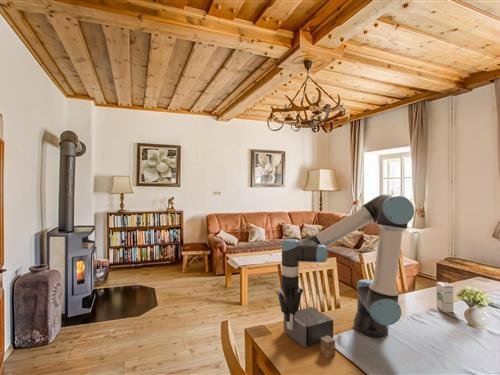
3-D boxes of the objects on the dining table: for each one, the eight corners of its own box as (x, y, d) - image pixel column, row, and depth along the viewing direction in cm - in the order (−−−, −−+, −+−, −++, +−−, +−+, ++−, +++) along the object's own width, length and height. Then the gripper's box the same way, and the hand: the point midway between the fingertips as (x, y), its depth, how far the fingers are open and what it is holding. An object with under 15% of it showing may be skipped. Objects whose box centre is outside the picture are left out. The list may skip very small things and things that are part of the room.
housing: (311, 324, 138) (311, 306, 138) (333, 338, 124) (333, 319, 124) (288, 330, 131) (288, 312, 131) (308, 346, 118) (308, 326, 118)
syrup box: (454, 312, 151) (454, 285, 151) (443, 312, 151) (443, 285, 151) (446, 307, 156) (446, 281, 156) (436, 307, 156) (436, 281, 156)
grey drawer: (309, 323, 137) (309, 306, 137) (330, 338, 124) (330, 318, 124) (283, 330, 130) (283, 312, 130) (303, 347, 117) (303, 326, 117)
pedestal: (328, 349, 116) (328, 335, 116) (335, 355, 112) (335, 340, 112) (320, 352, 114) (320, 337, 114) (327, 357, 110) (327, 342, 110)
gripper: (297, 270, 129) (296, 321, 129) (273, 274, 123) (272, 327, 123) (307, 275, 123) (306, 328, 122) (282, 279, 117) (282, 335, 117)
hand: (289, 328), depth 123 cm, fingers closed
